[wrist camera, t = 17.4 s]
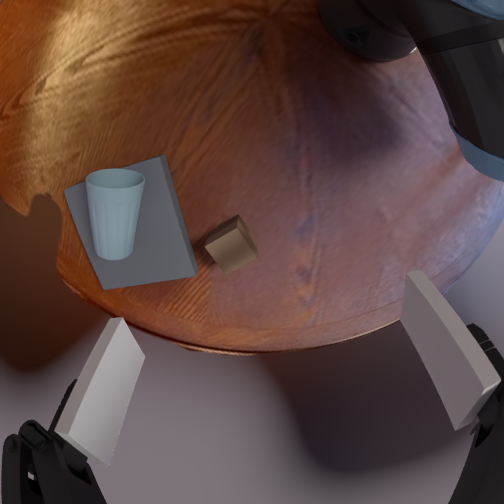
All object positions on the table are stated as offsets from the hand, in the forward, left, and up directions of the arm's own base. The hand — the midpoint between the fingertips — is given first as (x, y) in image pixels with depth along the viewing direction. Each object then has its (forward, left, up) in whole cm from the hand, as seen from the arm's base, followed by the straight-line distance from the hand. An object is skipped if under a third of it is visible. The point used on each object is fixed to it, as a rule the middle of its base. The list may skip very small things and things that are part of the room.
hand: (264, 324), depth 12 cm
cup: (+2, -20, -27) cm, 34 cm away
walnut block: (+8, -5, -29) cm, 30 cm away
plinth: (+3, -20, -29) cm, 35 cm away
